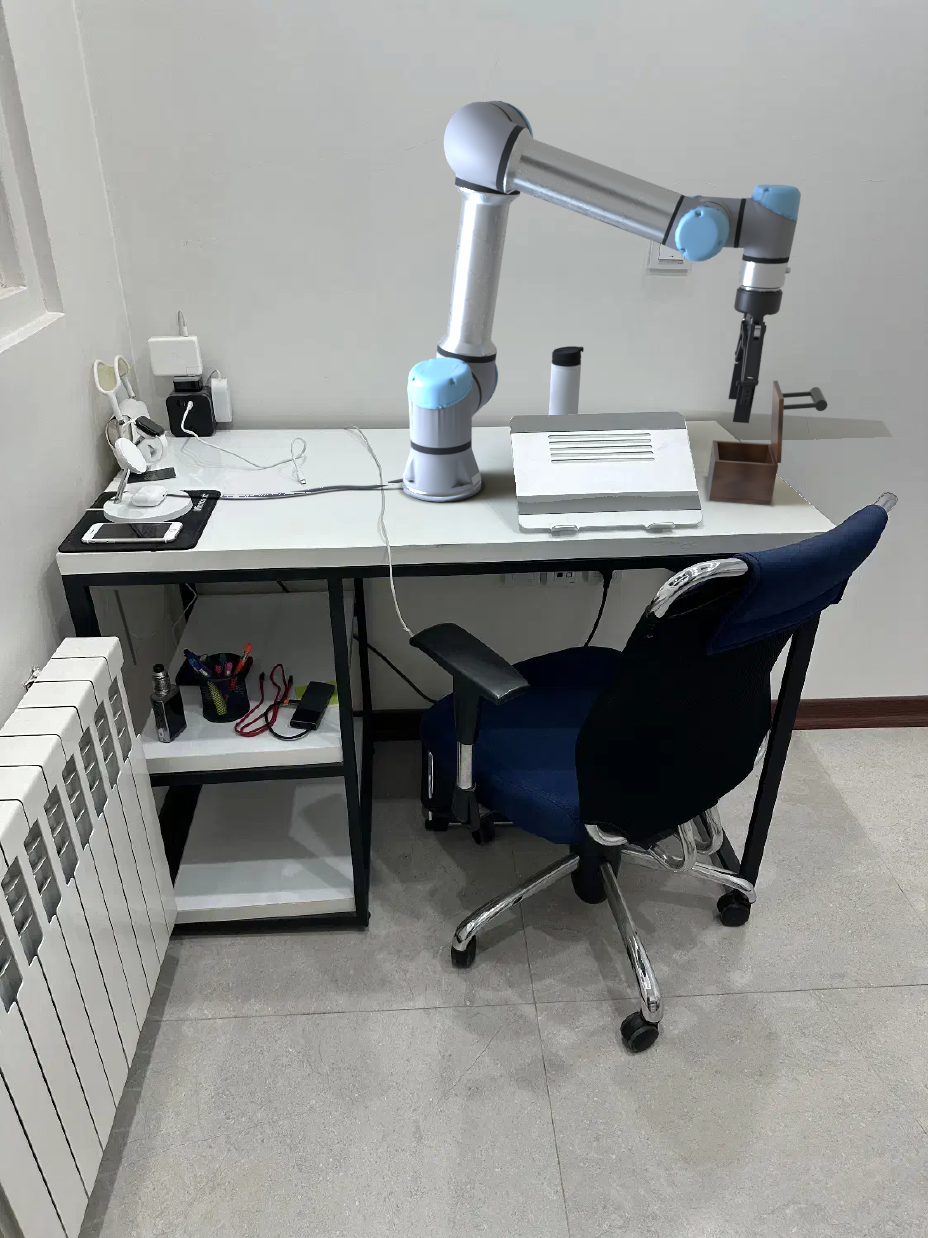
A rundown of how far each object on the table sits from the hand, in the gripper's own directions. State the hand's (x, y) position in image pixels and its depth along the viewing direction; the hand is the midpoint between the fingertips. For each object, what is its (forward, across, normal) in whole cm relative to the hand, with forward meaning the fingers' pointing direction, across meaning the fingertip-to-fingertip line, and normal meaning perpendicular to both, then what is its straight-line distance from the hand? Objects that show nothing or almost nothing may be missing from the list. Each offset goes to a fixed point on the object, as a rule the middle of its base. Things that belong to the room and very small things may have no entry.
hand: (738, 410), depth 157 cm
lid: (+2, +1, -7) cm, 7 cm away
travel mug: (+17, +24, +33) cm, 44 cm away
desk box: (+16, +1, -3) cm, 16 cm away
